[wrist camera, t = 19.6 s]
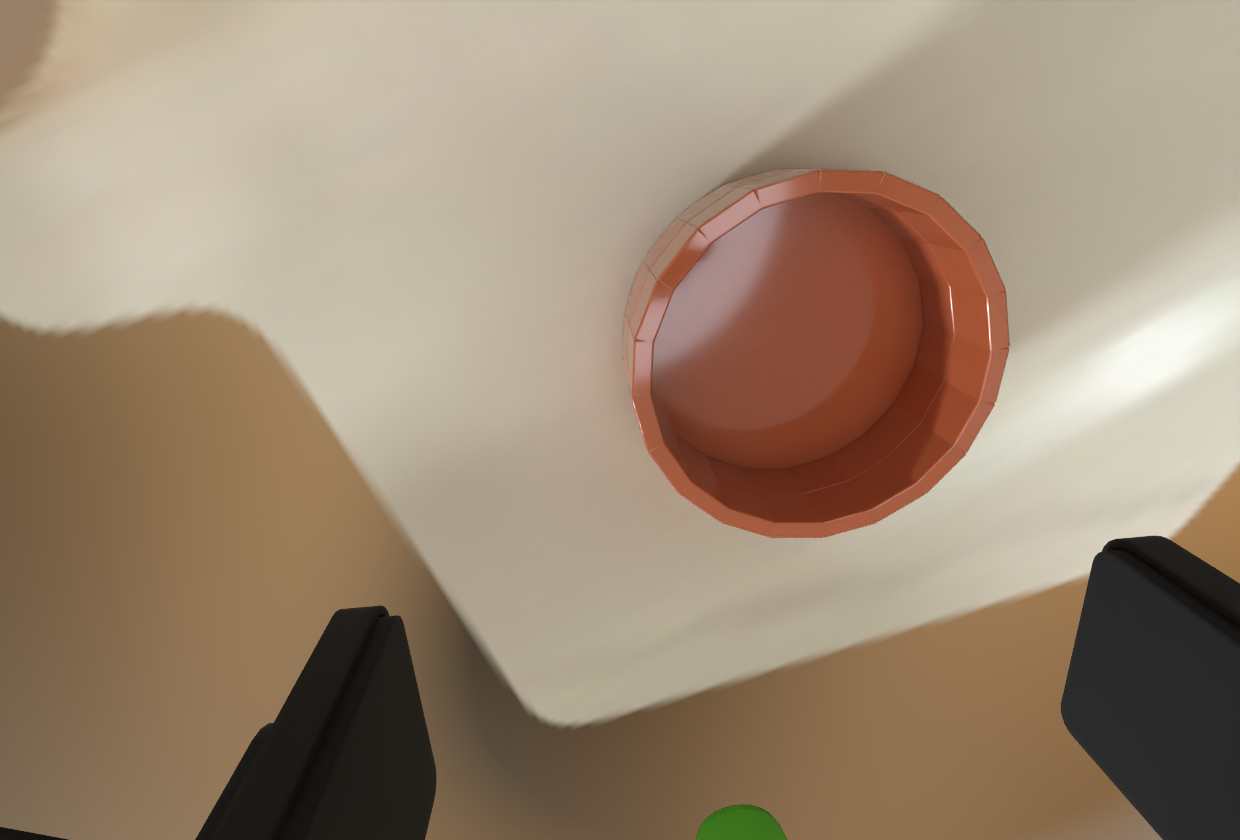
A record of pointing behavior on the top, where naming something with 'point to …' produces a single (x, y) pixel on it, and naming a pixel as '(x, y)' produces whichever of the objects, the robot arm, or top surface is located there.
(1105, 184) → the top surface
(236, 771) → the robot arm
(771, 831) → the cup
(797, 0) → the top surface
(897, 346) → the bowl
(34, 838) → the cake box
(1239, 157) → the top surface
